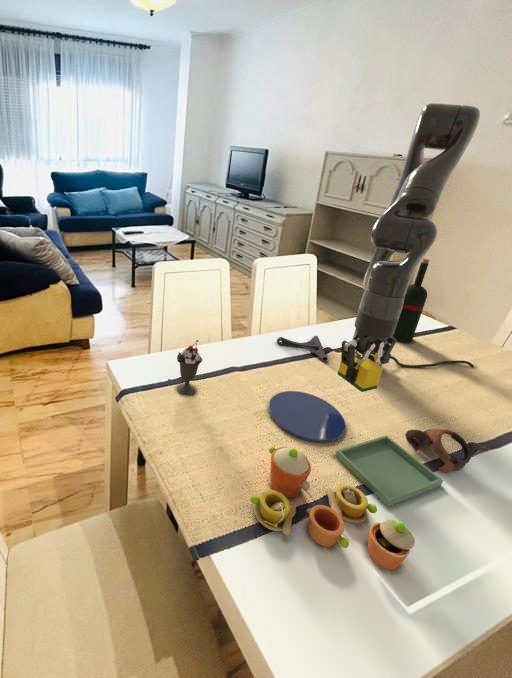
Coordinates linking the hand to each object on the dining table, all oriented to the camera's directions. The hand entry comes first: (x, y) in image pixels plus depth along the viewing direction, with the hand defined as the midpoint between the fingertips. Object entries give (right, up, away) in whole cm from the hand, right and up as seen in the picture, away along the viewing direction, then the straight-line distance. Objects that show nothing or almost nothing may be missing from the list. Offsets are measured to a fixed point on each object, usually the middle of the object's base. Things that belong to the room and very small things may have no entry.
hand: (358, 378), depth 87 cm
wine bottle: (+43, +2, +53) cm, 68 cm away
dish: (+3, -19, -5) cm, 20 cm away
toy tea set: (-15, -22, -16) cm, 31 cm away
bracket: (+3, 0, +43) cm, 43 cm away
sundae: (-37, -7, +18) cm, 42 cm away
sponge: (0, -1, 0) cm, 1 cm away
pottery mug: (+16, -18, 0) cm, 24 cm away
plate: (-8, -12, +10) cm, 18 cm away
